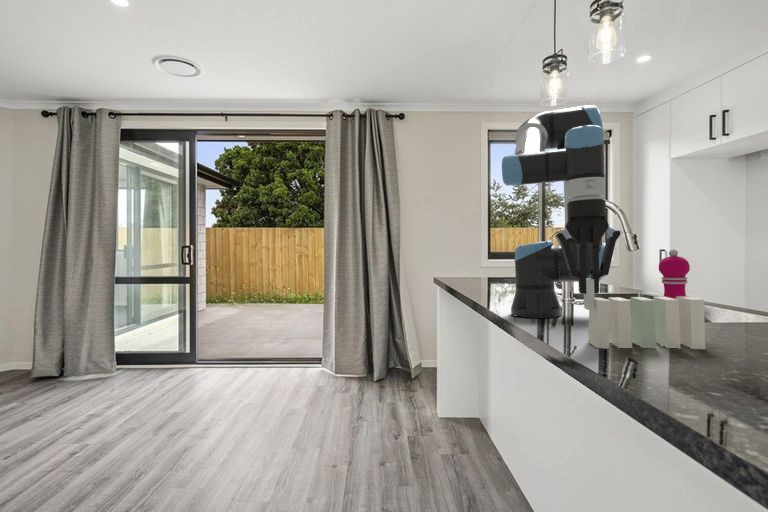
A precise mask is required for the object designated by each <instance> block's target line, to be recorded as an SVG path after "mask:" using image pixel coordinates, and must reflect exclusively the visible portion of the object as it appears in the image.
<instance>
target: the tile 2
mask: <svg viewBox="0 0 768 512" xmlns="http://www.w3.org/2000/svg"><path fill="white" fill-rule="evenodd" d="M607 300H609V301H610V323H609V344H611V343H612V344H611V345H612V346H614V345H615V347H616V348H617V347H618V349H619V348H632V349H633V343H632V324H631V299H628V298H627V299H626V298H624V297H621V296H620V297H619V296H617V297H615V296H614V297H608V298H607Z"/></svg>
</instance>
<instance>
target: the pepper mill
mask: <svg viewBox="0 0 768 512" xmlns="http://www.w3.org/2000/svg"><path fill="white" fill-rule="evenodd" d="M678 255H679V251H678V250H676V249H671V250H669V252H668V256H666V257H664V258H662V259H661V260H660V261H659V263H658V271H659V272H660V274H661V275H662V276H663V277H661V284H663V290H664V291H663V296H662V297H669V298H673V299H676V296H687V294H686V284H688V277H687V276H686V275H688V273H689V271H690V269H691V266H690V263H689V261H688V260H687V259H686V258H684V257H683V256H678Z"/></svg>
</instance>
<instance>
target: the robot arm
mask: <svg viewBox="0 0 768 512" xmlns="http://www.w3.org/2000/svg"><path fill="white" fill-rule="evenodd" d="M598 108H599V107H597V106H595V105H579V106H575V107H570V108H563V109H562V108H561V109H555V110H547V111H542V112H539V113H537V114H535V115H532V116H531V117H530V118H528V119H526V120H525V121H524V122H522V124H521V125H520V126H519V127H518V129H517V130H516V132H515V137H514V143H515V145H516V146H515V149H514V153H513V154H511V155H506V156H503V157H502V160H501V177H502V181H503V185H506V186H518V187H519V186H524V185H533V184H545V183H555V182H557V183H558V182H563V199H564V201H563V203H564V229H563V230H561V231H560V232H558V233H555V236H554V237H555V238H556V240H557V241H558V243H559V244H554V241H553V240H545V241H539V242H533V243H532V242H531V243H527V244H526V243H525V244H522V245H518V246H517V247H516V248H515V250H514V264H515V265H514V266H515V293H514V296H513V300H512V303H511V307H510V314H513V315H516V316H522V317H521V318H524V317H529V318H528V319H551V318H558V316H559V317H561V316H562V306H561V304H560V302H559V300H558V296H557V294H556V290H555V282H556V283H559V282H560V283H563V282H564V283H565V282H566V283H567V282H568V283H572V282H574V283H575V282H578V292H579V294H581V295H583V304H584V305H583V308H584V309H585V310H588V311H589V310H595V297H596V295H595V294H599V293H600V281H601V280H603V279H604V278H605V276H608V275H609V272H610V268H611V265H612V264H611V263H612V261H613V257H614V250H615V247H616V242H617V240H618V239H619V237H620V236H621V233H622V232H621V231H620V230H617V229H614V228H612V227H610V224H609V222H608V221H607V211H606V210H607V209H606V207H607V206H606V205H607V204H606V202H607V201H606V200H605V199H604V197H605V196H606V181H605V178H606V177H605V148H604V146H605V145H604V143H605V139H604V129H603V128H604V127H603V122H602V116H601V112H600V110H599V109H598ZM550 149H552V150H550ZM553 149H554V150H553ZM544 150H545V151H544ZM547 150H548V151H547ZM604 234H605V237H606V240H605V242H603V236H604ZM513 315H512V316H513ZM516 316H515V317H516Z"/></svg>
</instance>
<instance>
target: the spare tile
mask: <svg viewBox="0 0 768 512" xmlns="http://www.w3.org/2000/svg"><path fill="white" fill-rule="evenodd" d="M630 302H631V332H632V342H634V343H635V344H637V345H639V346H641V347H643V348H656V349H657V344H656V329H655V300H653V298H652V299H651V298H648V297H644V296H630ZM634 343H633V344H634ZM635 344H634V345H635ZM637 345H636V346H637ZM639 346H638V347H639ZM641 347H640V348H641ZM643 348H642V349H643Z"/></svg>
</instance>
